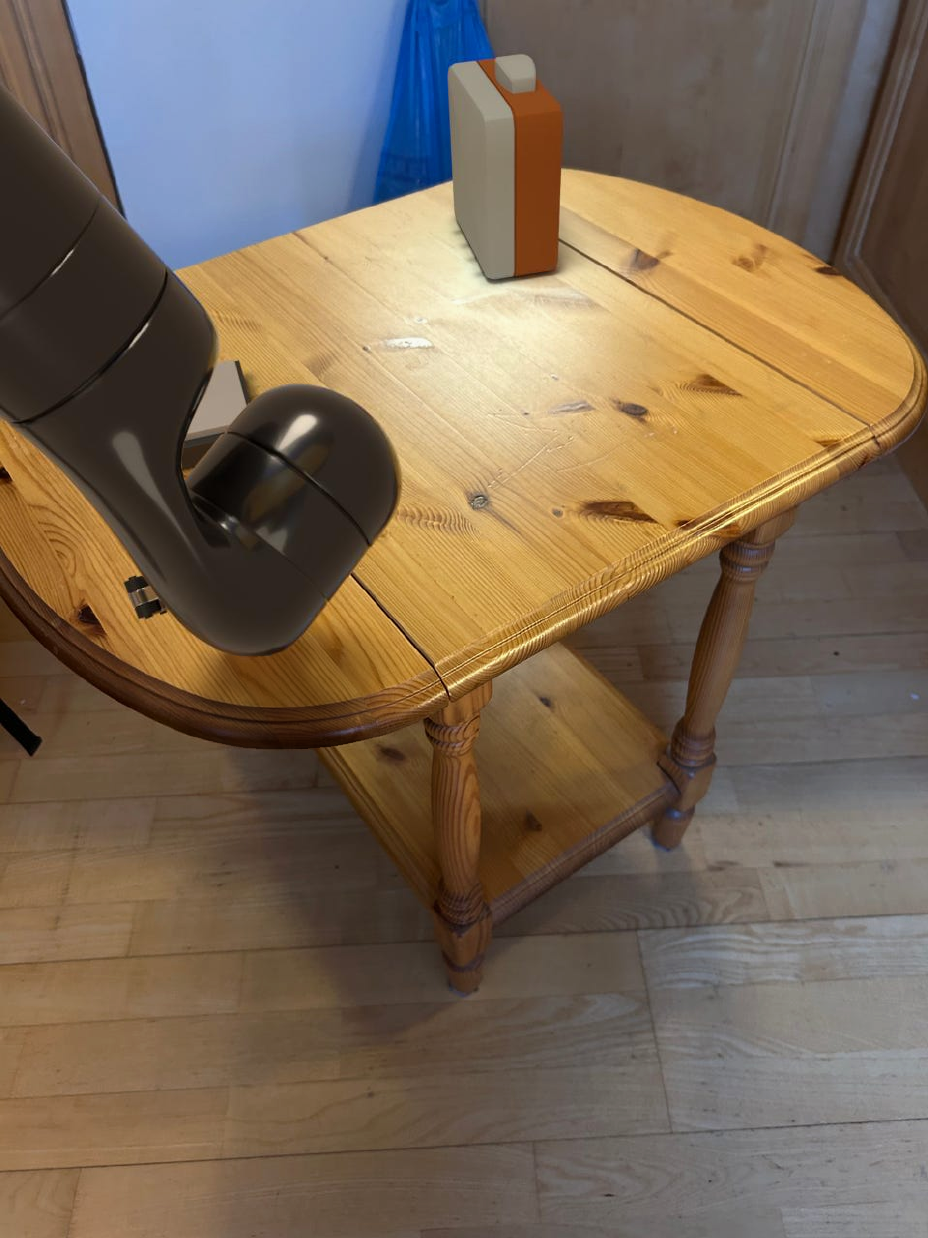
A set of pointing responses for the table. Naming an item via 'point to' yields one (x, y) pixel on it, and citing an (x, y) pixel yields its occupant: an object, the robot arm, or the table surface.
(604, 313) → the table surface
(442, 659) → the table surface
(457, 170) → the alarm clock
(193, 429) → the scale
